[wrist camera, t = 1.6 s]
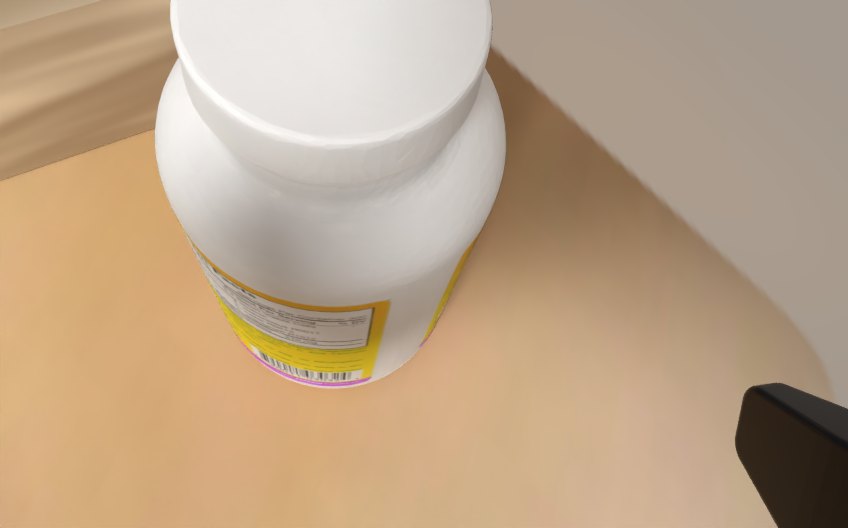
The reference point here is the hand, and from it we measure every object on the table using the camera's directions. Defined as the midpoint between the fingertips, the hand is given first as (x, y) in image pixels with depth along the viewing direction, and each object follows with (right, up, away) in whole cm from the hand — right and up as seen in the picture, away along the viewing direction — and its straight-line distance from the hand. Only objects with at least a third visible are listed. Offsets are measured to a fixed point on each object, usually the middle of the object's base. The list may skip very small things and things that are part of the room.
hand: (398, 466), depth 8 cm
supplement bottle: (-3, +2, +14) cm, 14 cm away
